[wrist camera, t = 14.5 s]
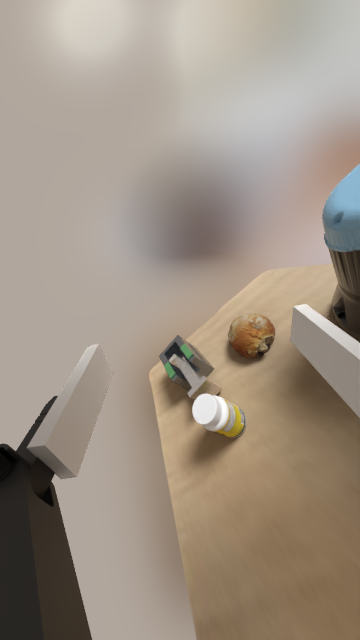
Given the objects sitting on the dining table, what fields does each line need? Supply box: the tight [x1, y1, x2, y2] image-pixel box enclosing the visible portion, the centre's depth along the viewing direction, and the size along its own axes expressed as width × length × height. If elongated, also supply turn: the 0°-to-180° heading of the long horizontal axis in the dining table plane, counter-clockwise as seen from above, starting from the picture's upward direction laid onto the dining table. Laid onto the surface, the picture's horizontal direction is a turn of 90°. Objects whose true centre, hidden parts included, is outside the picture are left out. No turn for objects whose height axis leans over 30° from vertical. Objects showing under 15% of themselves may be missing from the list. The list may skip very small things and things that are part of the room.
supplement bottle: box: [192, 394, 246, 438], centre depth 35 cm, size 6×6×10 cm
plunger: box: [169, 354, 222, 400], centre depth 44 cm, size 10×5×9 cm, turn 32°
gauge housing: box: [159, 335, 214, 391], centre depth 50 cm, size 10×8×8 cm
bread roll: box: [228, 314, 275, 357], centre depth 44 cm, size 10×10×8 cm
